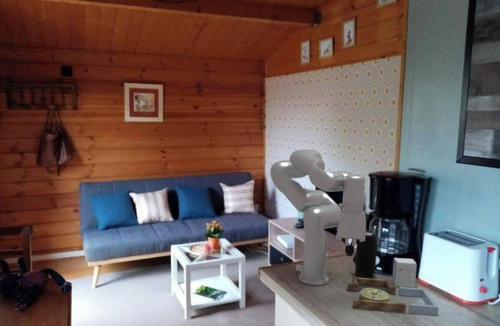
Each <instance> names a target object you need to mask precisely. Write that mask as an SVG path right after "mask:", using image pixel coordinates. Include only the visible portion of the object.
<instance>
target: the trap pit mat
mask: <svg viewBox="0 0 500 326" xmlns="http://www.w3.org/2000/svg"><path fill="white" fill-rule="evenodd" d="M364 288H376V289H380V290H382V291H385V292H386V293H388V292H387V290H386V288H384V287H372V286H360V285H358V292H360V291H361V290H362V289H364Z"/></svg>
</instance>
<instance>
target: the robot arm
mask: <svg viewBox="0 0 500 326" xmlns="http://www.w3.org/2000/svg"><path fill="white" fill-rule="evenodd" d="M325 169H326V164H325V161H324V160H323V157H322V154H321V153H320V151H318V150H316V149H297V150H294V151H293V152H291V154H290V156H289V160H288V159H287V160H278V161H276V162H274V163H273V164H272V165H271V166H270V171H269V172H270V174H269V175H270V178H271V180H272V183H273V186H275V188H276V189H277V190H278V191H279V192H280V193H282V194H283V195H284V196H285V198H286V199H287V200H288V201H289V202H290V203H291V205H292V206H293V207H294V208H295V209H296V210H297V212H298V213H299V212H300V213H303V217H302V218H303V228H304V241H303V242H304V243H303V259H302V265H301V264H296V266H295V271H297V272H299V274H298V281H300V282H301V283H303V284H306V285H310V286H316V287H317V286H325V285H327V284H328V283H329V281H330V279H329V277H328V275H326V269H327V257H328V256H327V253H328V237H327V235H326V232H325V229H329V228H335V227H336V235H335V238H336V240H339V241H341V242H342V243H343V244H344V245H345V247H344V248H345V249H344V250H345V251H344V253H345V254H346V256H347V257H353V254H354V253H355V246H357V243H359V242H362V241H365V235H366V230H367V222H366V220H367V218H366V212H365V211H364V203H365V201H364V199H365V191H366V190H365V189H366V178H365V176H364V175H362V174H356V173H352V172H350V171H345V170H344V171H343V170H342V171H339V170H338V171H326V170H325ZM306 176H308V179H309V181H310V183H311V184H312V186H314V187H316V188H318V189H314V190H313V189H312V190H307V189H306V188H304V187H303V186H302V185H301V184H300V183H299V182H298V181H297V180H295V179H302V178H306ZM327 192H328V193H330V192H332V193H333V192H343V193H342V194H343V195H342V202H341V203H338V204H337V203H336V202H335V201H334V200H333V198H331V196H329V194H328V193H327ZM349 239H351V242H349Z"/></svg>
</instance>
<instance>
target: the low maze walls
mask: <svg viewBox="0 0 500 326" xmlns="http://www.w3.org/2000/svg"><path fill="white" fill-rule="evenodd" d="M351 281H352V282H350V281H349V282H347V286H346V287H347V288H346V289H347V292H358V293H359V291H358V285H360V286H372V287H384V288H386V290H387V292H388V295H394V296H395V295H396V292H397V291H396V289H397V286H395V285H392V284H391V282H390V280H389V279H381V278H379V279H378V278H371V277H369V278H361V277H359V276H358V277H355V276H354V277H352V280H351ZM352 309H354V310H355V309H356V310H357V309H358V310H366V311H367V310H369V311H378V312H379V311H380V312H381V311H382V312H393V313H400V314H401V313H403V314H406V311H407V304H406V303H403V302H392V301H391V302H390V301H388V302H382V301H371V300H362V299H357V298H353V299H352Z"/></svg>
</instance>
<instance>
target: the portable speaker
mask: <svg viewBox="0 0 500 326" xmlns="http://www.w3.org/2000/svg"><path fill="white" fill-rule="evenodd" d="M355 249H356V250H355V274H356V275H357V276H358V278H374V275H375V272H376V264H377V253H378V252H377V249H378V233H376V232H374V231H372V230H369V229H366V235H365V241H362V242H359V243H357V244H356V248H355Z"/></svg>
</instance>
